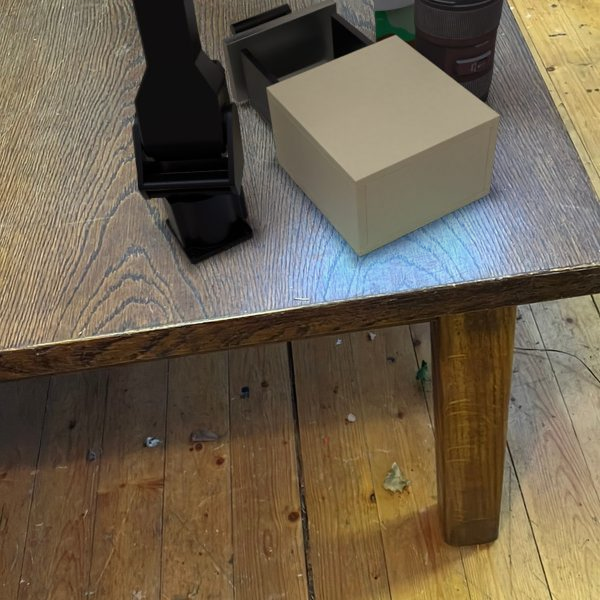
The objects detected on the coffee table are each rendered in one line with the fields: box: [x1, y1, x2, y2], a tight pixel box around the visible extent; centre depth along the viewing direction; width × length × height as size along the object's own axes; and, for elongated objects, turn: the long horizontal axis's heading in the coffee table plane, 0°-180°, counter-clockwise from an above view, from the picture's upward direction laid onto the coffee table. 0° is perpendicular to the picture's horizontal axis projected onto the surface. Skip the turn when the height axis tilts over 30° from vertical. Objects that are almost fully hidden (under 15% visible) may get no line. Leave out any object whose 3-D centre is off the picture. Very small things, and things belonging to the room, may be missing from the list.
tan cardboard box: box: [266, 35, 501, 258], centre depth 67 cm, size 16×14×9 cm
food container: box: [373, 0, 415, 49], centre depth 81 cm, size 12×6×10 cm, turn 168°
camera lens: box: [414, 0, 504, 104], centre depth 71 cm, size 8×8×15 cm
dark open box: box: [221, 0, 376, 131], centre depth 76 cm, size 20×13×7 cm, turn 29°
